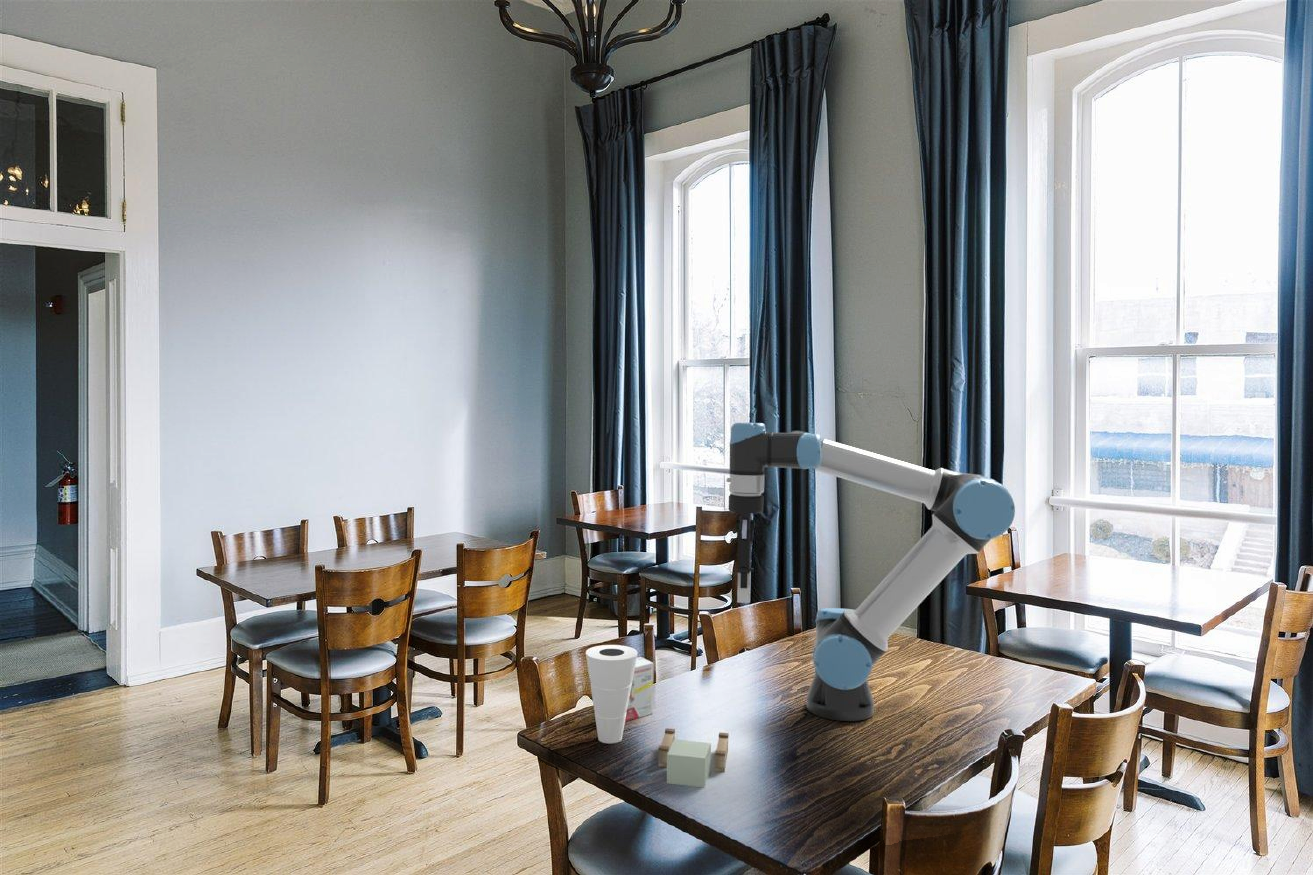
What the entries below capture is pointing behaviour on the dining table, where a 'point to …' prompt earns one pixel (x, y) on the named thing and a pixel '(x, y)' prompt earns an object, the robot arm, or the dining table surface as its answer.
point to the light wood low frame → (719, 753)
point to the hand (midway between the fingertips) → (743, 601)
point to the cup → (610, 687)
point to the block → (688, 763)
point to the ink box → (641, 690)
